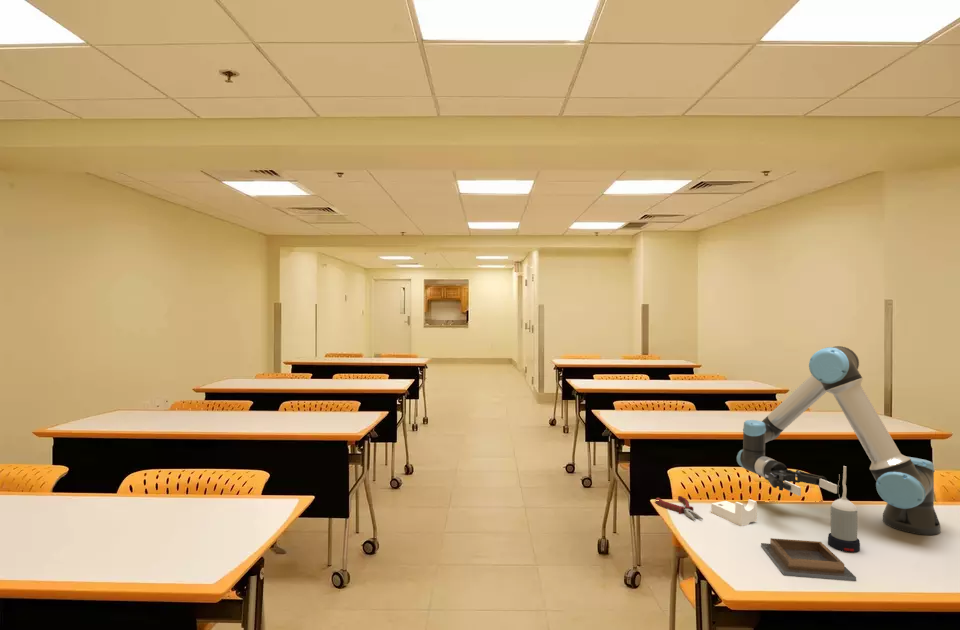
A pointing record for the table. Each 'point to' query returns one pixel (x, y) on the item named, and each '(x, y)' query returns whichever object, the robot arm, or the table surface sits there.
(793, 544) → the fitting nest
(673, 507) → the pliers
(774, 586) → the table surface
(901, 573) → the table surface
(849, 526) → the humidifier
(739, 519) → the bracket
